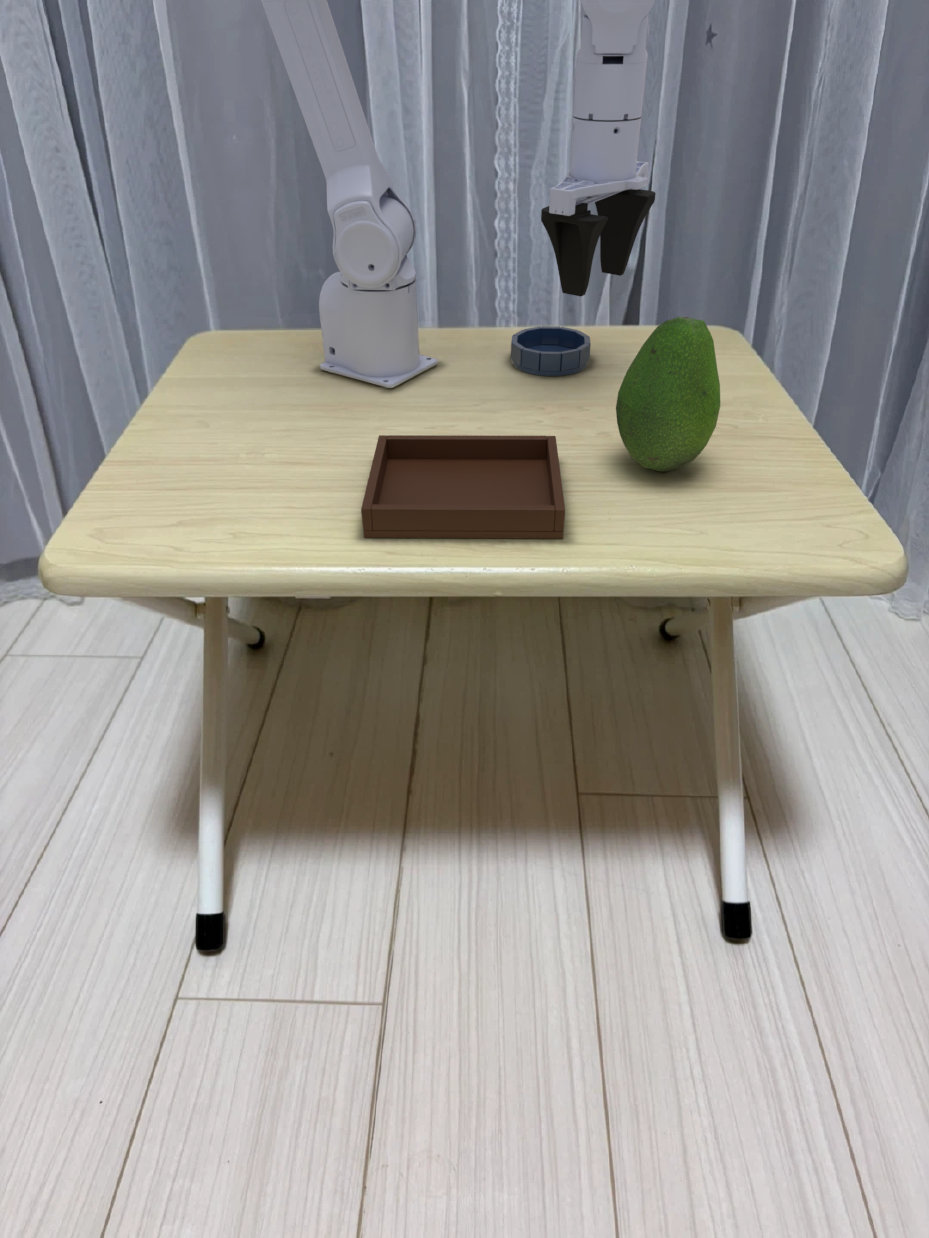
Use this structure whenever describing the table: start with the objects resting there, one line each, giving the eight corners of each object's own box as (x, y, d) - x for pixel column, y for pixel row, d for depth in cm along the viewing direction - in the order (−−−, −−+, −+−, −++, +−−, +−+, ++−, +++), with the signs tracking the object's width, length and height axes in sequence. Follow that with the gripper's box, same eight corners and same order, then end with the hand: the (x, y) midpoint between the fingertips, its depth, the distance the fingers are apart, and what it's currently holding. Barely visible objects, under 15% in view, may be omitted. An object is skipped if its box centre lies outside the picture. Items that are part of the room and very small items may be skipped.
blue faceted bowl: (496, 365, 88) (496, 343, 87) (536, 342, 94) (537, 321, 92) (564, 382, 85) (565, 359, 83) (602, 357, 90) (604, 335, 89)
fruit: (590, 467, 71) (603, 320, 63) (642, 434, 75) (659, 294, 68) (677, 498, 66) (701, 345, 59) (726, 462, 71) (754, 315, 64)
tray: (363, 537, 62) (360, 508, 61) (380, 461, 72) (378, 435, 70) (563, 538, 62) (565, 509, 61) (554, 462, 71) (555, 435, 70)
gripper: (609, 132, 66) (594, 312, 74) (687, 110, 75) (666, 271, 84) (530, 125, 69) (524, 297, 77) (614, 104, 79) (601, 260, 87)
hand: (593, 283), depth 81 cm, fingers open, 7 cm apart
